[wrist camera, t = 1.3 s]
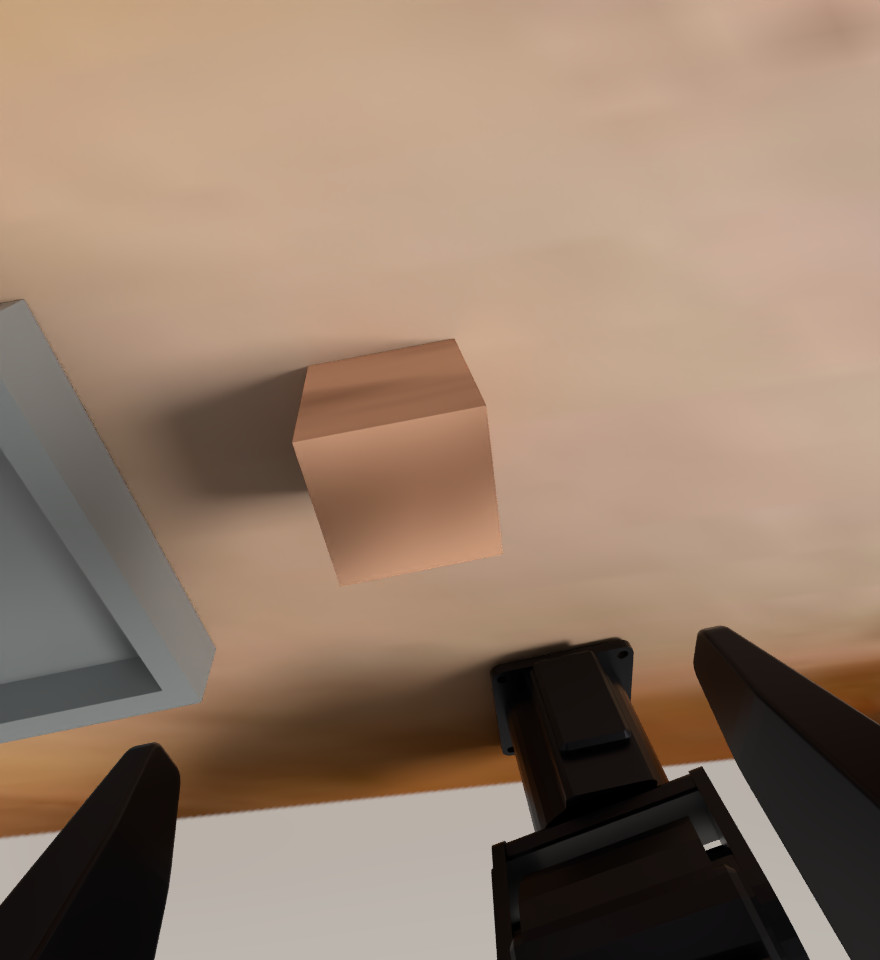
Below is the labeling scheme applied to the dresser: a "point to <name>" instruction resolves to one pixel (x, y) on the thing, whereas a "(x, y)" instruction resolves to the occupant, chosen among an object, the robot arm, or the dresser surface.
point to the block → (398, 462)
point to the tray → (78, 565)
